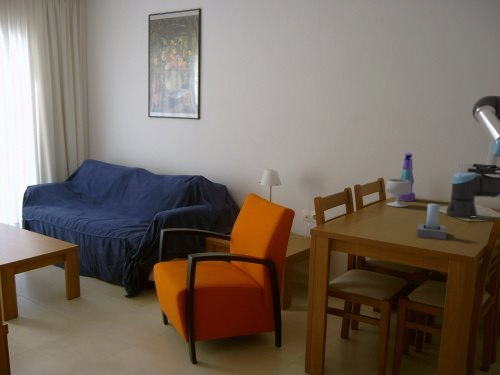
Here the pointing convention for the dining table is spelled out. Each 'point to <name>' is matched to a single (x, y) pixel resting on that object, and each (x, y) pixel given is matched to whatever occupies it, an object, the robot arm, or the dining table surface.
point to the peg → (432, 216)
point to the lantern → (408, 177)
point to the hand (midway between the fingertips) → (458, 167)
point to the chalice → (398, 190)
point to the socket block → (431, 232)
